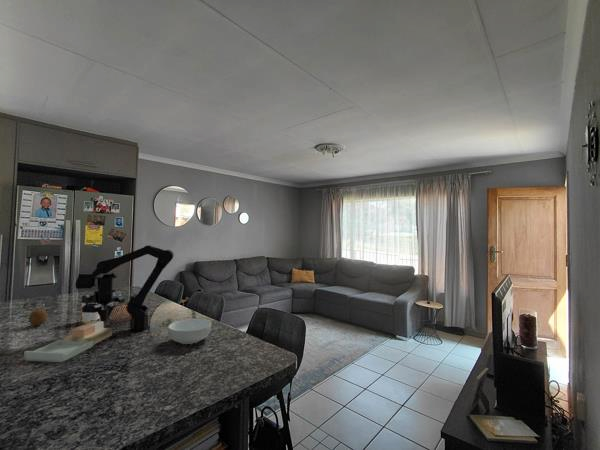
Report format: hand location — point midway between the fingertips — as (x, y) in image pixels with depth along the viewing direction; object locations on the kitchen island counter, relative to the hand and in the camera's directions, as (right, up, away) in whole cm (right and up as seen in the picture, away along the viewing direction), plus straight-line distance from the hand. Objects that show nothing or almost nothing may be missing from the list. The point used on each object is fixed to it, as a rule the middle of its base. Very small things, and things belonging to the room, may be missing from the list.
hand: (104, 323), depth 129 cm
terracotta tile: (-1, -1, -12) cm, 12 cm away
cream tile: (0, -1, -6) cm, 6 cm away
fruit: (-36, -4, +7) cm, 36 cm away
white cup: (-16, -4, +14) cm, 22 cm away
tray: (-1, -4, -22) cm, 22 cm away
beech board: (-1, -4, -9) cm, 10 cm away
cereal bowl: (+42, -5, -8) cm, 43 cm away
